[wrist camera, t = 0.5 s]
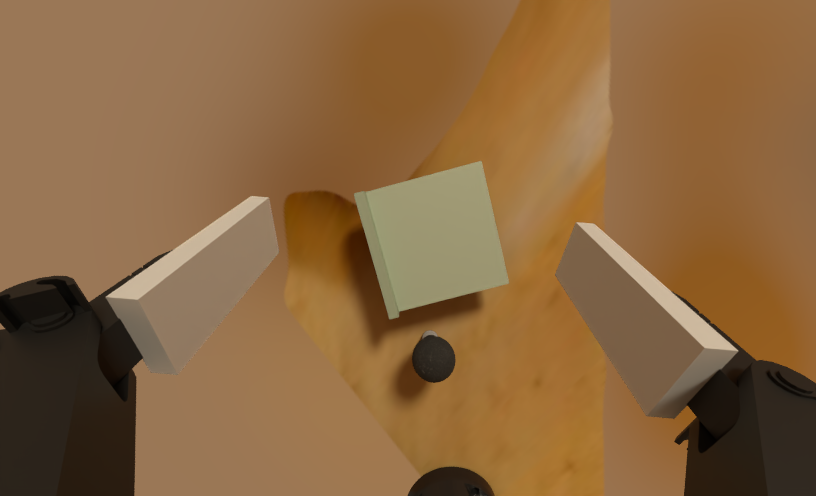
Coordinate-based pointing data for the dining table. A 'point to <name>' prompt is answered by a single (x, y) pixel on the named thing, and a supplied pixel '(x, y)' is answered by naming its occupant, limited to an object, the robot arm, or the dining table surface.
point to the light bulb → (433, 358)
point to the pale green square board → (432, 238)
